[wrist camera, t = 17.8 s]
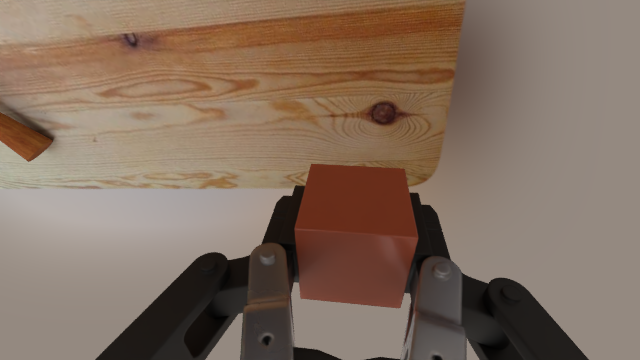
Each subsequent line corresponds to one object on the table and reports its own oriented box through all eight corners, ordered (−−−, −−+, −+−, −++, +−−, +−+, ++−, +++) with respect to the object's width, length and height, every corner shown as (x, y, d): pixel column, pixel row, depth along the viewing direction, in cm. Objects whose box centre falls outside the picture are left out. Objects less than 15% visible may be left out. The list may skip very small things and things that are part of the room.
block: (404, 168, 13) (419, 238, 9) (392, 234, 15) (400, 309, 12) (311, 163, 13) (293, 228, 10) (313, 228, 15) (300, 299, 12)
